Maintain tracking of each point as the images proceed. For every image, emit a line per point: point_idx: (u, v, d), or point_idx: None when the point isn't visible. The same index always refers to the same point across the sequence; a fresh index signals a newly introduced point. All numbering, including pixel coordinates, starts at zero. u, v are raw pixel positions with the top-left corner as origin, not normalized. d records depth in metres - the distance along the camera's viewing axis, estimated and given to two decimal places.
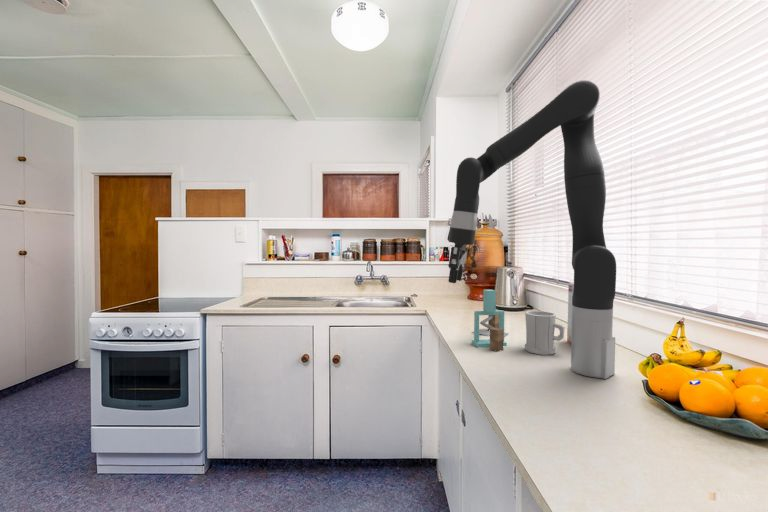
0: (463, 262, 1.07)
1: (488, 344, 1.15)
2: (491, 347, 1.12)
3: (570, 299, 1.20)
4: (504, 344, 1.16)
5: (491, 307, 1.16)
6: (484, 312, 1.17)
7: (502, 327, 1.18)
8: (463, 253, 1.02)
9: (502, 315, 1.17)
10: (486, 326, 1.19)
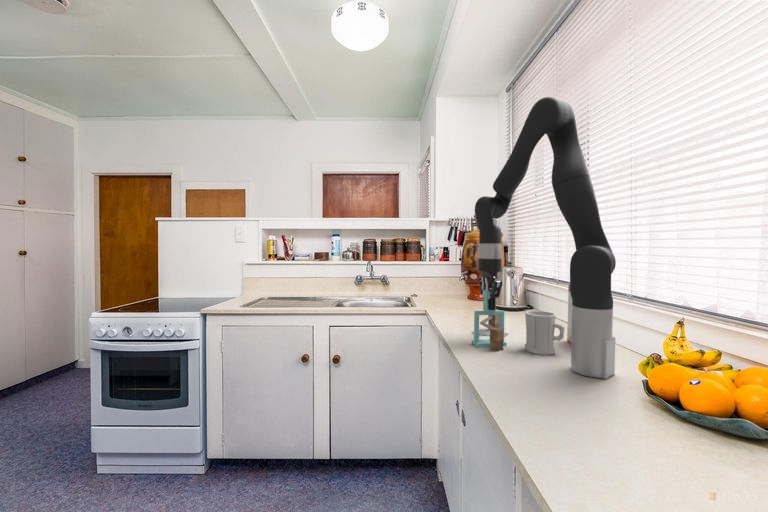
0: (491, 289, 1.19)
1: (488, 344, 1.15)
2: (491, 347, 1.12)
3: (570, 299, 1.20)
4: (504, 344, 1.16)
5: None
6: (484, 312, 1.17)
7: (502, 327, 1.18)
8: None
9: (502, 315, 1.17)
10: (486, 326, 1.19)
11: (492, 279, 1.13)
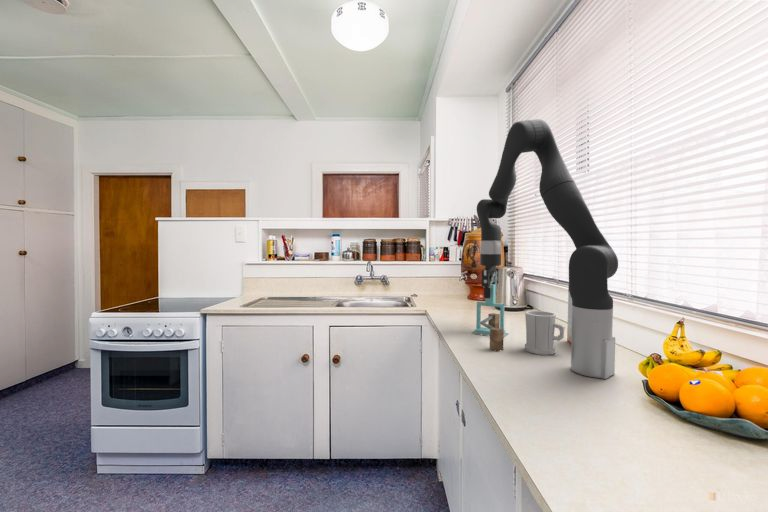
0: (495, 280, 1.33)
1: (484, 331, 1.31)
2: (491, 347, 1.12)
3: (570, 299, 1.20)
4: None
5: (489, 299, 1.31)
6: (484, 303, 1.33)
7: (501, 319, 1.29)
8: (493, 273, 1.29)
9: (501, 308, 1.29)
10: (486, 326, 1.19)
11: None
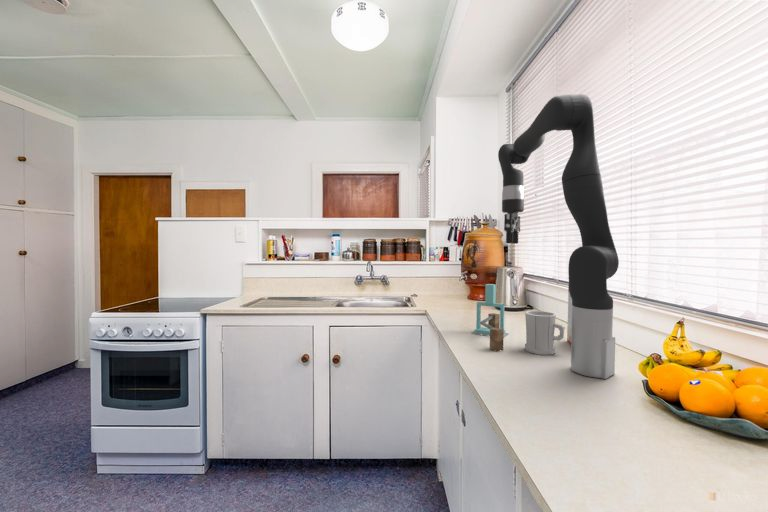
0: (517, 227, 1.31)
1: (484, 331, 1.31)
2: (491, 347, 1.12)
3: (570, 299, 1.20)
4: None
5: (489, 299, 1.31)
6: (484, 303, 1.33)
7: (501, 319, 1.29)
8: (515, 218, 1.26)
9: (501, 308, 1.29)
10: (486, 326, 1.19)
11: None
